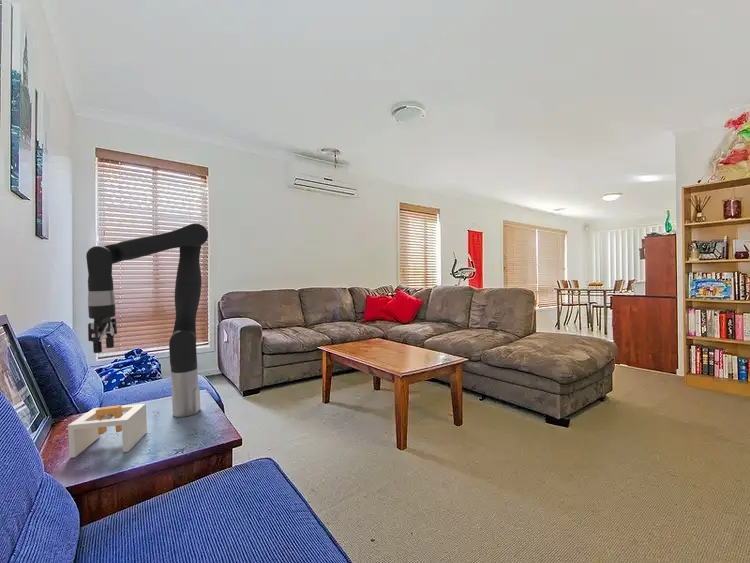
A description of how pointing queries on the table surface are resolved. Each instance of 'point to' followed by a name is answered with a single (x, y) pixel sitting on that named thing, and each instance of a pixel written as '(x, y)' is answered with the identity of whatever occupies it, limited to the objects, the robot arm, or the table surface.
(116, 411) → the orange u-shaped bracket
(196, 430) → the table surface
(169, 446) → the table surface
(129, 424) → the open-topped stand
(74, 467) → the table surface
